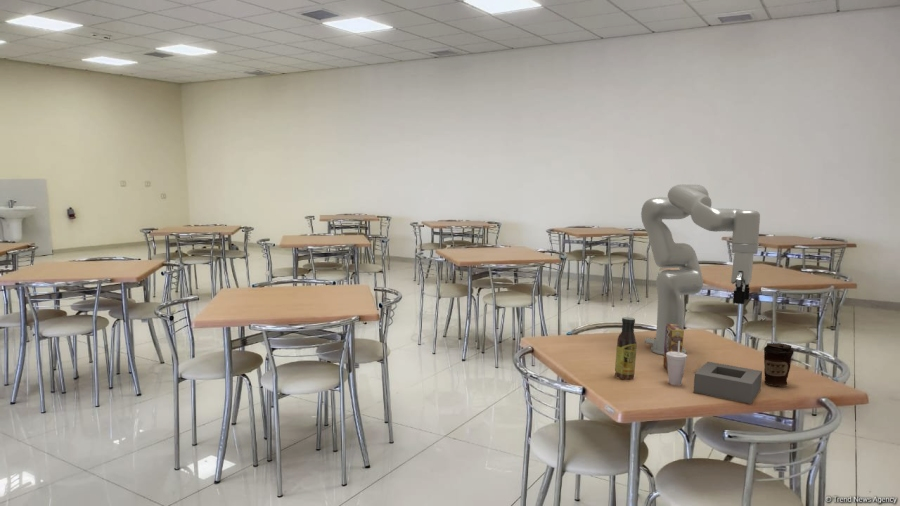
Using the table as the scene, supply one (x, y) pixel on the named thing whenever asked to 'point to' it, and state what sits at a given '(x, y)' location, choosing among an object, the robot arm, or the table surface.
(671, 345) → the candy box
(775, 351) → the coffee cup
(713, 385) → the well block
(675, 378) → the smoothie
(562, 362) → the table surface
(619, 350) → the sauce bottle
